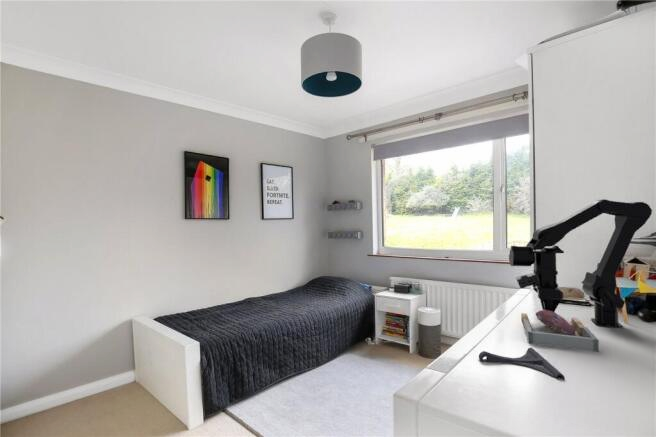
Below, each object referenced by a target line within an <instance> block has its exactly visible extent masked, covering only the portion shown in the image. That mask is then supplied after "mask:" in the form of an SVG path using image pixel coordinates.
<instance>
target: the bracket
mask: <svg viewBox="0 0 656 437" xmlns="http://www.w3.org/2000/svg"><path fill="white" fill-rule="evenodd" d="M484 358H485V359H484ZM478 359H479V361H480V362H481V363H498V364H499V363H500V364H514V365H518V366H522V367H527V368H530V369H533V370H536V371H538V372H541V373H543V374H545V375H547V376H549V377H551V378H555V379H558V377H560V378H561V380H565V379H566V378H565V376H564V374H563V373H561V371H559V369H557V368H556V367H554V366H553V365H552V364H551V362H549V361H548V360H547V359H545V358H544V356H542V355H541V354H540V353H539V352H538V351H536V350H535V349H534V348H533V347H528V348H527V350H526V351H525V354H523V355H522V356H519V357H508V356H501V355H498V354H494V353H491V352H488V351H485V350H483V351H481V352H479V354H478Z"/></svg>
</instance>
